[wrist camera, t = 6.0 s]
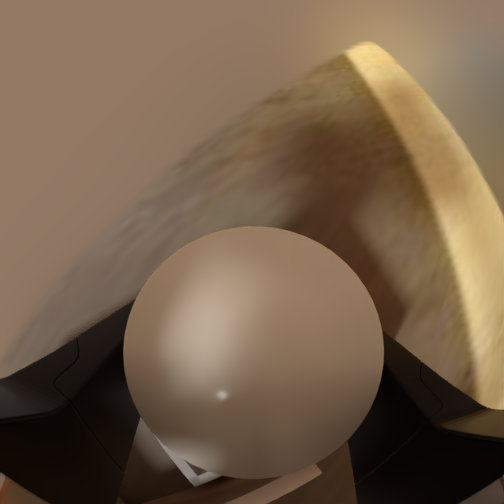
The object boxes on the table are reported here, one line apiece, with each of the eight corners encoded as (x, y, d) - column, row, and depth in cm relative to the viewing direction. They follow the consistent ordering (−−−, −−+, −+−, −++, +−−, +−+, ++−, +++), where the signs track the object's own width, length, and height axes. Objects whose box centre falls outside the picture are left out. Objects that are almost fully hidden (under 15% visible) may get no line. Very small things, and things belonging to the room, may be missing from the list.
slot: (304, 448, 18) (322, 473, 14) (126, 520, 15) (109, 546, 10) (206, 298, 21) (198, 287, 17) (38, 390, 18) (5, 396, 13)
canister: (308, 363, 14) (419, 383, 5) (224, 412, 13) (213, 512, 4) (258, 283, 16) (298, 187, 6) (175, 329, 15) (85, 300, 5)
